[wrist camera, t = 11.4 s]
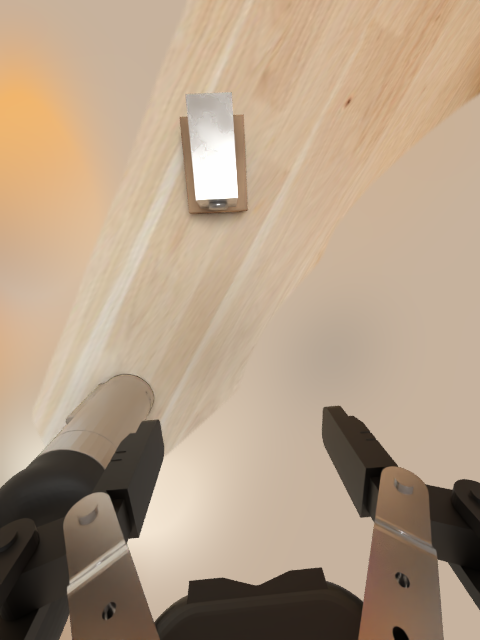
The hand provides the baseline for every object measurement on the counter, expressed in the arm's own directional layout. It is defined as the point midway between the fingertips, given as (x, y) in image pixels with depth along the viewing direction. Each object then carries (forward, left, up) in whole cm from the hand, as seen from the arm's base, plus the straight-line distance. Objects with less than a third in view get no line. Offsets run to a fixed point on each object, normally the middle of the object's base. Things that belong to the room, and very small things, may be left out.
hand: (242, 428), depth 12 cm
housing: (-1, +19, -26) cm, 33 cm away
